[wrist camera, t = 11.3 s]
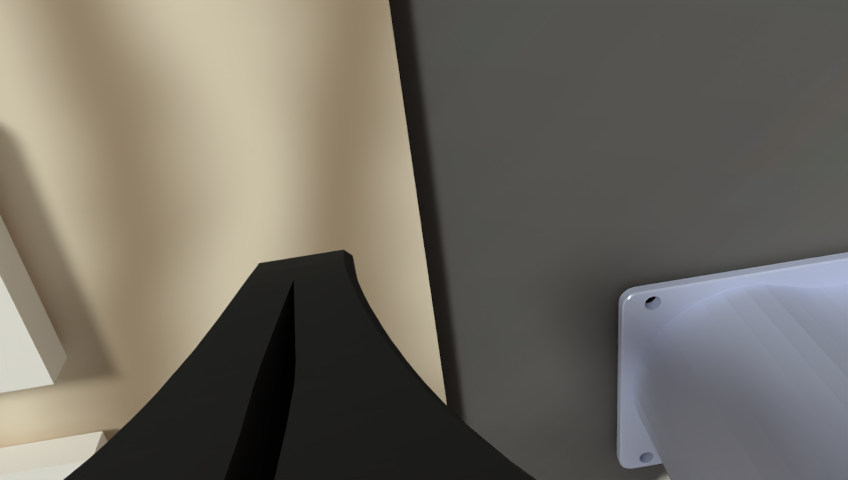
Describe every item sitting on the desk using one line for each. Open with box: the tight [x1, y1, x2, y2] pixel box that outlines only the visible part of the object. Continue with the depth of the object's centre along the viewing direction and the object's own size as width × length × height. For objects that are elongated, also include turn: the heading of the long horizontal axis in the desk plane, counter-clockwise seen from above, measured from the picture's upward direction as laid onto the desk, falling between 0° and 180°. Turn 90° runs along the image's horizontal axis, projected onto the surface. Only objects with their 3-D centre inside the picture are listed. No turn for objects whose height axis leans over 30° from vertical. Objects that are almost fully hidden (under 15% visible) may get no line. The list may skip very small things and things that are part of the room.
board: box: [0, 0, 447, 448], centre depth 23 cm, size 17×22×1 cm
